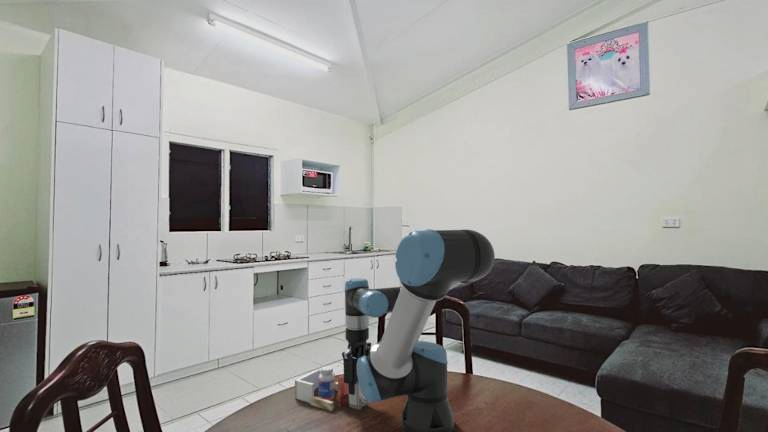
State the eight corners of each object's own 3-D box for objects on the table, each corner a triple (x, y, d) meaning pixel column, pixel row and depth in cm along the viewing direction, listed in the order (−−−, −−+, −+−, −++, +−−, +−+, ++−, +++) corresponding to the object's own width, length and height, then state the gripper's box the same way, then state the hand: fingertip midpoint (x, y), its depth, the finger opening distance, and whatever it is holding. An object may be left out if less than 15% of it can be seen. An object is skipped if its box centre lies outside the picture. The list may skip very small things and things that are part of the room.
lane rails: (357, 394, 132) (357, 387, 132) (331, 411, 120) (331, 403, 120) (336, 388, 137) (336, 382, 137) (309, 404, 125) (309, 397, 125)
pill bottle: (315, 398, 129) (315, 369, 129) (324, 392, 134) (324, 364, 134) (328, 402, 126) (328, 372, 127) (338, 395, 131) (337, 366, 132)
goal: (334, 389, 136) (334, 372, 136) (311, 403, 126) (311, 384, 126) (318, 385, 140) (318, 368, 140) (294, 398, 129) (294, 380, 130)
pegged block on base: (373, 404, 124) (372, 370, 125) (362, 412, 119) (362, 376, 119) (349, 398, 129) (348, 365, 129) (338, 405, 124) (338, 370, 124)
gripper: (362, 320, 134) (362, 388, 133) (331, 332, 119) (331, 409, 118) (380, 322, 130) (381, 393, 129) (351, 335, 115) (351, 414, 114)
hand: (357, 400), depth 124 cm, fingers closed on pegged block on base, 4 cm apart
